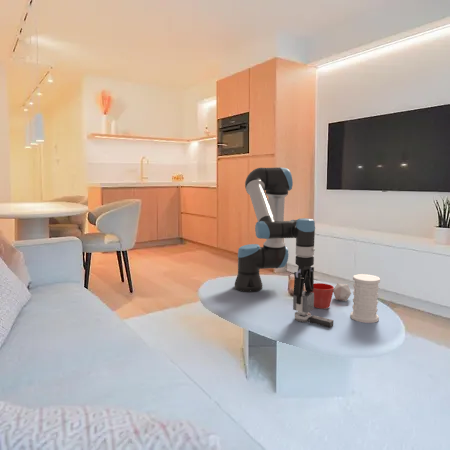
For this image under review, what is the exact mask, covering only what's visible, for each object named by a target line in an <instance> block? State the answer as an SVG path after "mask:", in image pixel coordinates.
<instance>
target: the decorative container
mask: <svg viewBox="0 0 450 450" xmlns="http://www.w3.org/2000/svg"><path fill="white" fill-rule="evenodd" d="M352 281H354V283H353V291H352V293H353V298H352V311H351V312H350V313H349V314H350V315H349V316H350V319H352V320H353V321H356V322H359V323H364V324H365V323H366V324H374V323H377V322H379V320H380V316H379V315H378V314H377V313H378V303H379V301H378V298H379V292H378V291H379V283H381V278H380V277H379V276H378V275H373V274H367V273H359V274H354V275H353V276H352Z"/></svg>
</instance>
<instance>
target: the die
mask: <svg viewBox="0 0 450 450" xmlns="http://www.w3.org/2000/svg"><path fill="white" fill-rule="evenodd" d="M333 295H334V298H335V301H341V302H348V300H349V298H350V296H351V295H352V292H351V288H350V286H349V284H347V283H340V282H338V283H336V284H335V286H334V290H333Z"/></svg>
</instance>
